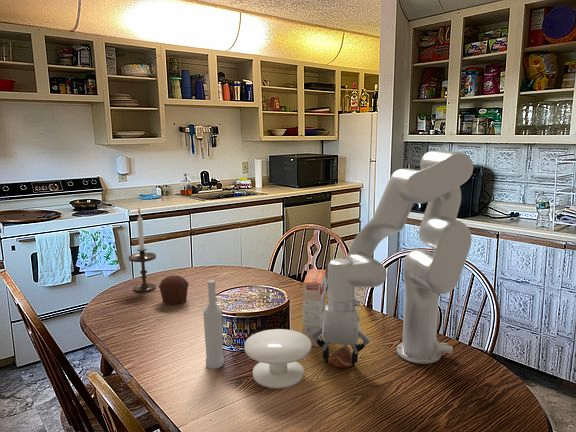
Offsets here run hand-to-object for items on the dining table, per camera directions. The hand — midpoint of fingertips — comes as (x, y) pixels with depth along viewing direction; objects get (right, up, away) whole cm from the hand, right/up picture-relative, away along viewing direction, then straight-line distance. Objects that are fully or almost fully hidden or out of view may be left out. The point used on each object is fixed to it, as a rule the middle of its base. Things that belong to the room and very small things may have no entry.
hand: (340, 362), depth 127 cm
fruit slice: (0, -1, 0) cm, 1 cm away
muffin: (-59, +8, +49) cm, 77 cm away
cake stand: (-17, -2, -4) cm, 18 cm away
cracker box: (-6, +2, +18) cm, 19 cm away
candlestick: (-76, +10, +63) cm, 99 cm away
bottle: (-36, -1, +1) cm, 36 cm away
